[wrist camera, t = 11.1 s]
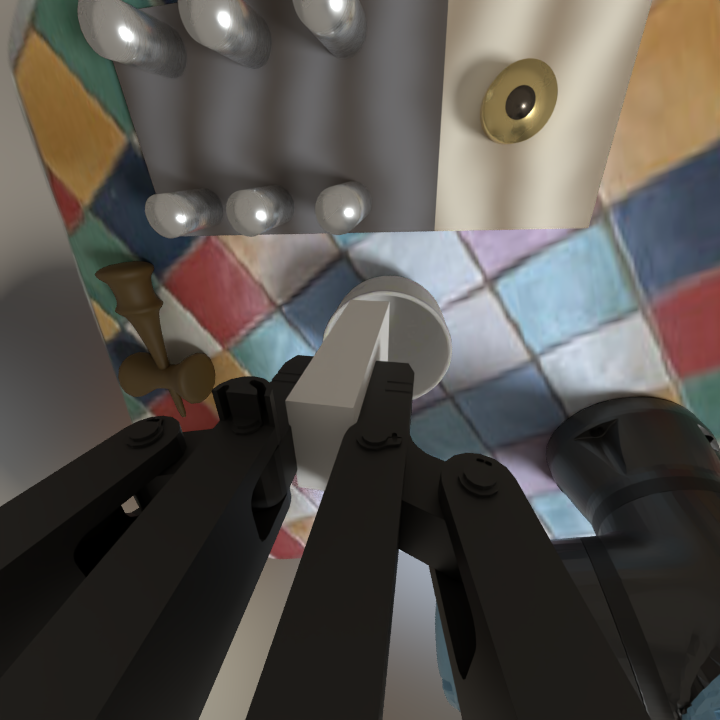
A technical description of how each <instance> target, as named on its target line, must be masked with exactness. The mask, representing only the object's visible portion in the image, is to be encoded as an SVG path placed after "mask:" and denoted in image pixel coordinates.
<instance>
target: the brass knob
mask: <svg viewBox="0 0 720 720" xmlns="http://www.w3.org/2000/svg"><path fill="white" fill-rule="evenodd" d="M557 96H558V84H557V79H556V76H555V74H554V72H553V70H552V69H551V68H550V66H549V65H547V64H546V63H545V62H543V61H541V60H539V59H534V58H527V59H522V60H518V61H516V62H514V63H512V64H510V65H509V66H507V67H506V68H505V69H504V70H503V71H502V72H501V73H500V74H499V75H498V76H497V77H496V79H495V80H494V81H493V82H492V84H491V85H490V86H489V88H488V89H487V91H486V93H485V95H484V97H483V100H482V103H481V108H480V122H481V126H482V129H483V131H484V133H485V134H486V136H487V137H488V138H489V139H490V140H492V141H493V142H495V143H498V144H505V145H507V144H514V143H519V142H522V141H525V140H527V139H529V138H531V137H533V136H534V135H535V134H537V133H538V132H539V131H540V130H541V129H542V128H543V127H544V126H545V124H546V123H547V122H548V120H549V119H550V117H551V115H552V113H553V111H554V108H555V105H556V102H557Z"/></svg>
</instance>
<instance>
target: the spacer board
mask: <svg viewBox="0 0 720 720" xmlns="http://www.w3.org/2000/svg"><path fill="white" fill-rule="evenodd" d="M243 1H244V2H246V3H247V4H248V5H249V6H250V7H251V8H253V9H254V10H255V11H256V12H257V13H259V14H260V15H261V16H262V17H263V19H264V20H265V21H266V23H267V25H268V27H269V30H270V33H271V39H272V48H271V53H270V56H269V59H268V60H267V62H266V63H265V64H264V65H263V66H262V67H260V68H257V69H250V68H247V67H245V66H243V65H241V64H239V63H237V62H235V61H233V60H231V59H229V58H227V57H225V56H223V55H222V54H220V53H218V52H216V51H214V50H212V49H210V48H208V47H206V46H204V45H202V44H200V43H198V42H197V41H195V40H194V39H193V38H192V37H191V36H190V35H189V33H188V32H187V30H186V28H185V27H184V24H183V22H182V19H181V16H180V13H179V7H178V3H172V4H166V5H160V6H154V7H148V8H141V9H139V10H141V11H143V12H145V13H147V14H149V15H150V16H152V17H154V18H156V19H158V20H160V21H162V22H164V23H166V24H168V25H170V26H171V27H173V28H174V29H175V30H176V31H177V32H178V34H179V35H180V37H181V38H182V40H183V43H184V45H185V49H186V55H187V62H186V67H185V70H184V72H183V73H182V74H181V76H179V77H177V78H167V77H164V76H161V75H158V74H155V73H151V72H148V71H145V70H142V69H139V68H135V67H132V66H129V65H126V64H122V63H119V62H116V61H113V63H114V66H115V69H116V73H117V76H118V79H119V82H120V85H121V88H122V91H123V94H124V97H125V100H126V103H127V106H128V109H129V113H130V116H131V119H132V122H133V125H134V128H135V131H136V134H137V137H138V140H139V143H140V146H141V149H142V153H143V156H144V159H145V162H146V165H147V168H148V171H149V174H150V177H151V180H152V183H153V186H154V189H155V193H156V194H163V193H171V192H178V191H186V190H194V189H202V188H204V189H209V190H211V191H212V192H214V193H215V194H216V195H217V196H218V197H219V199H220V201H221V203H222V205H223V210H224V214H223V218H222V220H221V222H220V223H219V224H217V225H214V226H211V227H208V228H204V229H201V230H198V231H195V232H191V233H188V234H185V235H182V236H216V235H242V234H240V233H239V232H237V231H236V230H235V229H234V228H233V227H232V225H231V224H230V222H229V220H228V217H227V213H226V205H227V201H228V199H229V197H230V196H231V195H232V194H233V193H234V192H236V191H240V190H246V189H252V188H258V187H264V186H270V185H279V186H282V187H283V188H285V189H286V190H287V191H288V192H289V193H290V194H291V196H292V198H293V201H294V213H293V216H292V218H291V219H290V220H289V221H288V222H286V223H284V224H282V225H279V226H277V227H275V228H272V229H270V230H268V231H265V232H263V233H261V234H259V235H265V234H315V233H329V232H327V231H326V230H324V229H323V228H322V227H321V225H320V224H319V222H318V220H317V217H316V213H315V205H316V201H317V198H318V196H319V195H320V193H321V192H322V191H323V190H325V189H326V188H328V187H331V186H335V185H339V184H342V183H346V182H350V181H356V182H360V183H362V184H363V185H364V186H365V187H366V188H367V189H368V190H369V192H370V195H371V199H372V205H371V210H370V212H369V214H368V215H367V216H366V217H365V218H364V219H363V220H362V221H361V222H360V223H359V224H357V225H356V226H355V227H354V228H353V229H352V230H351V231H349V232H348V233H365V232H415V231H464V230H514V229H564V228H588V227H589V223H590V219H591V216H592V212H593V209H594V205H595V202H596V198H597V195H598V191H599V187H600V184H601V180H602V177H603V173H604V170H605V166H606V163H607V159H608V155H609V152H610V148H611V145H612V141H613V138H614V134H615V131H616V127H617V123H618V120H619V116H620V113H621V109H622V106H623V102H624V99H625V95H626V91H627V88H628V84H629V81H630V77H631V74H632V70H633V67H634V63H635V60H636V56H637V52H638V49H639V45H640V42H641V38H642V35H643V31H644V28H645V24H646V20H647V17H648V13H649V10H650V6H651V3H652V0H359V1H360V3H361V6H362V8H363V10H364V13H365V16H366V23H367V30H366V36H365V40H364V42H363V45H362V46H361V48H360V49H359V51H358V52H357V53H356V54H355V55H353V56H352V57H349V58H338V57H336V56H334V55H333V54H332V53H331V52H330V51H329V50H328V49H327V48H326V47H325V46H324V45H323V44H322V43H321V42H320V41H319V39H318V38H317V37H316V36H315V35H314V34H313V33H312V32H311V31H310V30H309V29H308V28H307V27H306V26H305V24H304V23H303V22H302V21H301V20H300V18H299V17H298V15H297V13H296V11H295V8H294V4H293V0H243ZM527 58H534V59H539V60H541V61H543V62H545V63H546V64H547V65H549V66H550V68H551V69H552V70H553V72H554V74H555V76H556V79H557V84H558V96H557V102H556V105H555V108H554V111H553V113H552V115H551V117H550V119H549V120H548V122H547V123H546V124H545V126H544V127H543V128H542V129H541V130H540V131H539V132H538V133H537V134H535V135H534V136H533V137H531V138H529V139H527V140H525V141H522V142H519V143H514V144H507V145H505V144H498V143H495V142H493V141H492V140H490V139H489V138H488V137H487V136H486V134H485V133H484V131H483V129H482V126H481V122H480V108H481V103H482V100H483V97H484V95H485V93H486V91H487V89H488V88H489V86H490V85H491V84H492V82H493V81H494V80H495V79H496V77H497V76H498V75H499V74H500V73H501V72H502V71H503V70H504V69H505V68H506V67H507V66H509V65H510V64H512V63H514V62H516V61H518V60H522V59H527Z"/></svg>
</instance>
